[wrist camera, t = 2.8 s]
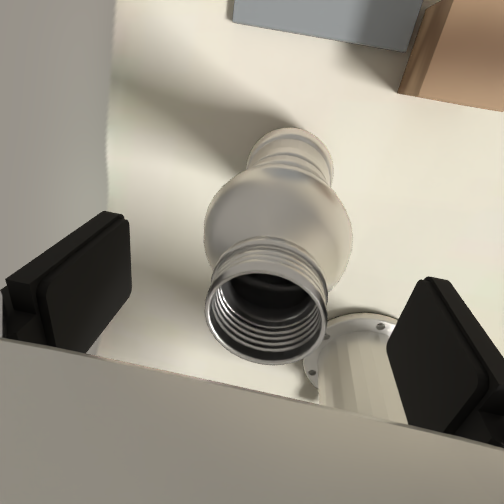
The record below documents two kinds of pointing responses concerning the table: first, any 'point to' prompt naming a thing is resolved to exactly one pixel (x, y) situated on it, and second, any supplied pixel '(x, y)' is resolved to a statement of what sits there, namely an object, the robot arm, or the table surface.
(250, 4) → the slate mat
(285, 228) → the plastic bottle
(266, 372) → the table surface
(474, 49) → the walnut block
